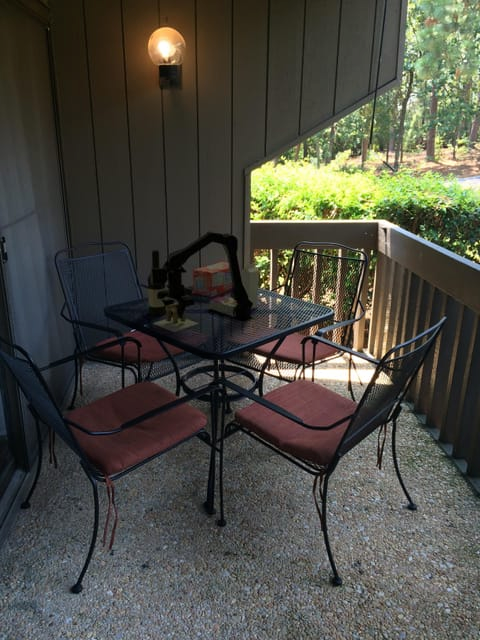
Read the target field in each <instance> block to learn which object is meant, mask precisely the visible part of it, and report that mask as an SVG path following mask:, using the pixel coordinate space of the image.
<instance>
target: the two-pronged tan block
mask: <svg viewBox="0 0 480 640" xmlns="http://www.w3.org/2000/svg"><path fill="white" fill-rule="evenodd" d="M178 304H179V303H178V302H175V303H173V304H171V305H167V306H166V314H165V319H166V321H168V322H170V321H171V318H172V317H173V324H178V319H179V316H178V312H177V308H176V305H178ZM171 312H173V315H172V316H171ZM186 319H187V318H186V309H185V310H184V313H183V316H182V318H181V319H180V321H182V322H184V321H186Z"/></svg>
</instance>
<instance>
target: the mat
mask: <svg viewBox="0 0 480 640" xmlns="http://www.w3.org/2000/svg"><path fill="white" fill-rule="evenodd" d="M152 325H155V326H157V327H160V328H162V329H164V330H167V331H170V332H172V333H176V332H180V331H183V330H186V329H188V328H189V329H190V328H191V327H195V326H199V323H198V322H196V321H192V320H190V319H187V318H186V321H184V322H182V321H180V319H178V324H173V316H171V321H170V322H168V321H166V318H165V319H162V320H159V321H156V322H153V324H152Z"/></svg>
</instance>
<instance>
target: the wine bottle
mask: <svg viewBox="0 0 480 640" xmlns="http://www.w3.org/2000/svg"><path fill="white" fill-rule="evenodd" d="M151 262H152V264H151V265H152V267H151V268H160V251H159V249H152V251H151ZM150 275H151V272H150V273H149V275H148V277H147V289H148V290H147V291H148V292H147V293H148V294H147V295H148V296H147V297H148V314H150V316H153V317H155V316H159V317H160V316H163V315H166V306H165V305H164V303H163V302H162V301H161V300H163V299H158V298H157V294H158V292H160V291H164V290H166V283H165V284H151V279H150Z"/></svg>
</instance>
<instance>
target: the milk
mask: <svg viewBox="0 0 480 640" xmlns="http://www.w3.org/2000/svg"><path fill="white" fill-rule="evenodd" d="M255 265H256V264H255V263H254V262H253V263H248V264H245V268H243V269H241V270H240V274H241V279H242V284H243V286H244V288H245V290H246V292H247V295H248V299H249V300H250V301H251V302H252V303H253V305H252V308H255V309H257V308H258V302H259V300H258V299H259V297H258V296H259V295H258V294H259V273H260V272H259V269H258V268H257V267H256V266H255ZM256 307H257V308H256ZM252 308H251V310H253V309H252Z"/></svg>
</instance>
